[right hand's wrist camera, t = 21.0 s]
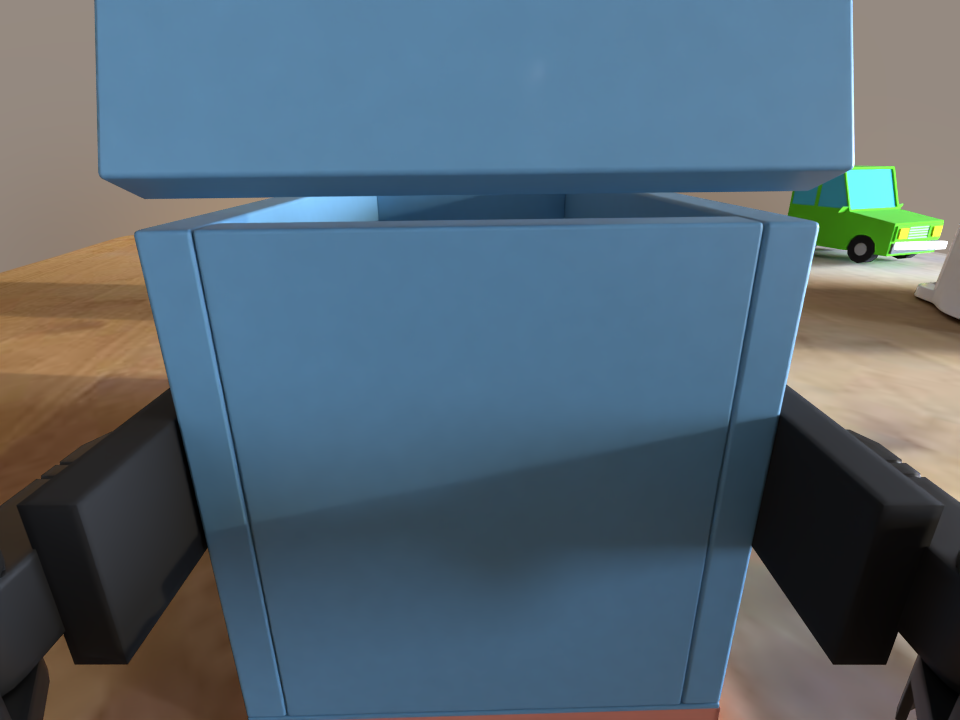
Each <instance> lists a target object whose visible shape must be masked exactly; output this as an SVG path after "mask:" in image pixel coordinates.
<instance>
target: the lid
mask: <svg viewBox="0 0 960 720" xmlns="http://www.w3.org/2000/svg"><path fill="white" fill-rule="evenodd" d="M94 1H95V46H96V90H97V134H98V173H99V176H100V177H101V178H102V179H104V180H106V181H108V182H110V183H112V184H114V185H116V186H118V187H121V188H123V189H125V190H127V191H129V192H131V193H133V194H135V195H137V196H139V197H141V198H144V199H179V198H259V197H260V198H261V197H343V196H424V195H505V194H587V193H668V192H748V191H808V190H811V189H813V188H815V187H817V186H819V185H821V184H823V183H825V182H827V181H829V180H831V179H833V178H835V177H837V176H839V175H842V174H844V173H846V172H848V171H850V170H852V169H853V167H854V89H853V11H852V0H94Z"/></svg>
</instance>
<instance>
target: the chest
mask: <svg viewBox="0 0 960 720" xmlns="http://www.w3.org/2000/svg"><path fill="white" fill-rule="evenodd" d="M818 231H819V224H818V223H817V222H815V221H811V220H806V219H801V218H796V217H792V216H786V215H782V214H777V213H771V212H767V211H762V210H757V209H752V208H747V207H742V206H737V205H732V204H727V203H722V202H717V201H712V200H707V199H702V198H697V197H692V196H687V195H682V194H677V193H672V192H668V193H587V194H505V195H424V196H343V197H274V198H270V199H265V200H261V201H257V202H253V203H249V204H245V205H241V206H236V207H233V208H228V209H224V210H220V211H216V212H212V213H208V214H203V215H200V216H195V217H191V218H187V219H183V220H178V221H174V222H170V223H166V224H162V225H158V226H154V227H149V228H146V229H141V230H138V231H136V232H135V234H134V237H135V241H136V246H137V250H138V254H139V258H140V262H141V267H142V271H143V275H144V279H145V284H146V288H147V292H148V296H149V301H150V305H151V309H152V313H153V318H154V322H155V326H156V330H157V334H158V339H159V343H160V347H161V351H162V356H163V360H164V364H165V368H166V373H167V377H168V381H169V385H170V390H171V394H172V398H173V402H174V406H175V411H176V415H177V419H178V423H179V428H180V432H181V436H182V440H183V445H184V449H185V453H186V457H187V462H188V466H189V470H190V474H191V478H192V483H193V487H194V491H195V495H196V500H197V504H198V508H199V512H200V517H201V521H202V525H203V529H204V534H205V538H206V542H207V546H208V550H209V555H210V559H211V563H212V567H213V572H214V576H215V580H216V584H217V589H218V593H219V597H220V601H221V606H222V610H223V614H224V618H225V622H226V627H227V631H228V635H229V639H230V644H231V648H232V652H233V656H234V661H235V665H236V669H237V673H238V678H239V682H240V686H241V690H242V694H243V699H244V703H245V707H246V711H247V715H248V720H718V717H719V712H720V707H719V700H720V696H721V691H722V686H723V681H724V677H725V672H726V667H727V662H728V658H729V653H730V648H731V644H732V639H733V634H734V629H735V625H736V620H737V615H738V610H739V606H740V601H741V596H742V591H743V587H744V582H745V577H746V572H747V568H748V563H749V558H750V553H751V549H752V546H751V545H752V541H753V536H754V532H755V527H756V523H757V518H758V513H759V509H760V504H761V500H762V495H763V491H764V486H765V482H766V477H767V472H768V468H769V463H770V459H771V454H772V449H773V444H774V440H775V435H776V430H777V425H778V421H779V416H780V411H781V406H782V402H783V397H784V392H785V387H786V383H787V378H788V373H789V368H790V364H791V359H792V354H793V349H794V345H795V340H796V335H797V330H798V326H799V321H800V316H801V311H802V307H803V302H804V297H805V292H806V288H807V283H808V278H809V274H810V269H811V264H812V259H813V255H814V250H815V245H816V240H817V236H818Z"/></svg>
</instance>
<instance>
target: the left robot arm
mask: <svg viewBox="0 0 960 720" xmlns="http://www.w3.org/2000/svg"><path fill="white" fill-rule="evenodd" d="M946 245H947V241H926V242H896V243H895V247H894V249H895V250H911V249H945V248H946ZM914 295H915V296H917V297H919V298H921V299H924V300H926V301H929V302H932V303H933V304H934V305H935V306H936V307H937V308H938V309H939V310H940V311H942V312H944V313H946V314H948V315H950V316H952V317H955V318H958V319H960V224H959V226H958V229H957V231H956V234H955V236H954V239H953V241H952V244H951V246H950V249H949V251H948V254H947V257H946V259H945V262H944V264H943V267H942V269H941V272H940V274H939V277H938V280H937V282H934V283H921V284H919V285H918V287H917V289H916V292H915V294H914Z"/></svg>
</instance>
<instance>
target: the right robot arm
mask: <svg viewBox="0 0 960 720" xmlns="http://www.w3.org/2000/svg"><path fill="white" fill-rule="evenodd" d="M751 546H752V547H753V548H754V550H755V551H756V553H757V554H758V556H759V557H760V559H761V560H762V562H763V563H764V565H765V566H766V567H767V569H768V570H769V572H770V573H771V575H772V576H773V578H774V579H775V581H776V582H777V583H778V585H779V586H780V588H781V589H782V591H783V592H784V594H785V595H786V597H787V598H788V599H789V601H790V602H791V604H792V605H793V607H794V608H795V610H796V611H797V613H798V614H799V616H800V617H801V618H802V620H803V621H804V623H805V624H806V626H807V627H808V629H809V630H810V632H811V633H812V634H813V636H814V637H815V639H816V640H817V642H818V643H819V645H820V646H821V648H822V649H823V650H824V652H825V653H826V655H827V656H828V658H829V659H830V661H831V662H832V664H833V665H886V663H887V661H888V658H889V655H890V653H891V650H892V647H893V645H894V642H895V639H896V636H897V634H898V632H899V633H900V634H901V635H902V636H903V638H904V639H905V640H906V641H907V642H908V643H909V644H910V646H911V647H912V648H913V649H914V650H915V651H916V653H917V654H918V656H917V659H916V661H915V664H914V666H913V669H912V671H911V674H910V676H909V679H908V681H907V684H906V686H905V689H904V692H903V694H902V697H901V699H900V702H899V704H898V707H897V712H896V718H895V719H896V720H906V719H907V717H908V714H909V712H910V710H912V709H916V715H917V720H960V502H958V501H957V500H956V499H954V498H953V497H952V496H950V495H949V494H947V493H946V492H945V491H943V490H942V489H941V488H939V487H938V486H937V485H935V484H934V483H932V482H931V481H930V480H928V479H927V478H926V477H921V476H920V473H919V472H917V471H916V470H915V469H913V468H912V467H911V466H909V465H908V464H907V463H902V460H901V459H900V458H898V457H897V456H896V455H894V454H893V453H892V452H890V451H889V450H888V449H886V448H885V447H883V446H882V445H881V444H879V443H877V442H875V441H873V440H871V439H869V438H866V437H864V436H862V435H860V434H858V433H856V432H853V431H851V430H845V429H844V428H843V427H841V426H840V425H839V424H837V423H836V422H835V421H833V420H832V419H831V418H830V417H828V416H827V415H826V414H824V413H823V412H822V411H820V410H819V409H818V408H816V407H815V406H814V405H813V404H811V403H810V402H809V401H807V400H806V399H805V398H803V397H802V396H801V395H799V394H798V393H797V392H796V391H794V390H793V389H792V388H790V387H789V386H788V385H786V387H785V392H784V397H783V402H782V406H781V411H780V416H779V421H778V425H777V430H776V435H775V440H774V444H773V449H772V454H771V459H770V463H769V468H768V472H767V477H766V482H765V486H764V491H763V495H762V500H761V504H760V509H759V513H758V518H757V523H756V527H755V532H754V536H753V541H752V545H751ZM207 548H208V546H207V542H206V538H205V534H204V529H203V525H202V521H201V517H200V512H199V508H198V504H197V500H196V495H195V491H194V487H193V483H192V478H191V474H190V470H189V466H188V462H187V457H186V453H185V449H184V445H183V440H182V436H181V432H180V428H179V423H178V419H177V415H176V411H175V406H174V402H173V398H172V394H171V390H170V388H169V389H168V390H166V391H165V392H164V393H162V394H161V395H160V396H159V397H157V398H156V399H155V400H153V401H152V402H151V403H149V404H148V405H147V406H145V407H144V408H143V409H142V410H140V411H139V412H138V413H136V414H135V415H134V416H132V417H131V418H130V419H128V420H127V421H126V422H125V423H123V424H122V425H121V426H119V427H118V428H117V429H115V430H114V431H113V432H110V433H108V434H105V435H103V436H101V437H99V438H97V439H95V440H93V441H90V442H88V443H86V444H84V445H82V446H81V447H79V448H78V449H77V450H75V451H74V452H72V453H71V454H70V455H68V456H67V457H66V458H64V459H63V460H62V461H60V465H55V466H54V467H52V468H51V469H50V470H48V471H47V472H45V473H44V474H43V475H41V479H36V480H35V481H33V482H32V483H31V484H29V485H28V486H27V487H25V488H24V489H22V490H21V491H20V492H18V493H17V494H16V495H14V496H13V497H12V498H10V499H9V500H8V501H6V502H5V503H4V504H2V505H1V506H0V720H43V717H44V711H45V705H46V699H47V693H48V688H49V682H50V680H49V674H48V669H47V666H46V664H45V661H44V659H43V657H44V655H45V654H46V653H47V652H48V651H49V650H50V648H51V647H52V646H53V645H54V644H55V643H56V641H57V640H58V639H59V638H60V637H61V636H62V635H63V634H64V637H65V639H66V642H67V645H68V648H69V650H70V653H71V656H72V658H73V661H74V664H128V663H129V662H130V660H131V659H132V657H133V656H134V654H135V653H136V651H137V650H138V648H139V647H140V646H141V644H142V643H143V641H144V640H145V638H146V637H147V635H148V634H149V632H150V631H151V630H152V628H153V627H154V625H155V624H156V622H157V621H158V619H159V618H160V616H161V615H162V613H163V612H164V611H165V609H166V608H167V606H168V605H169V603H170V602H171V600H172V599H173V597H174V596H175V595H176V593H177V592H178V590H179V589H180V587H181V586H182V584H183V583H184V581H185V580H186V578H187V577H188V576H189V574H190V573H191V571H192V570H193V568H194V567H195V565H196V564H197V562H198V561H199V560H200V558H201V557H202V555H203V554H204V552H205V551H206V549H207Z"/></svg>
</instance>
